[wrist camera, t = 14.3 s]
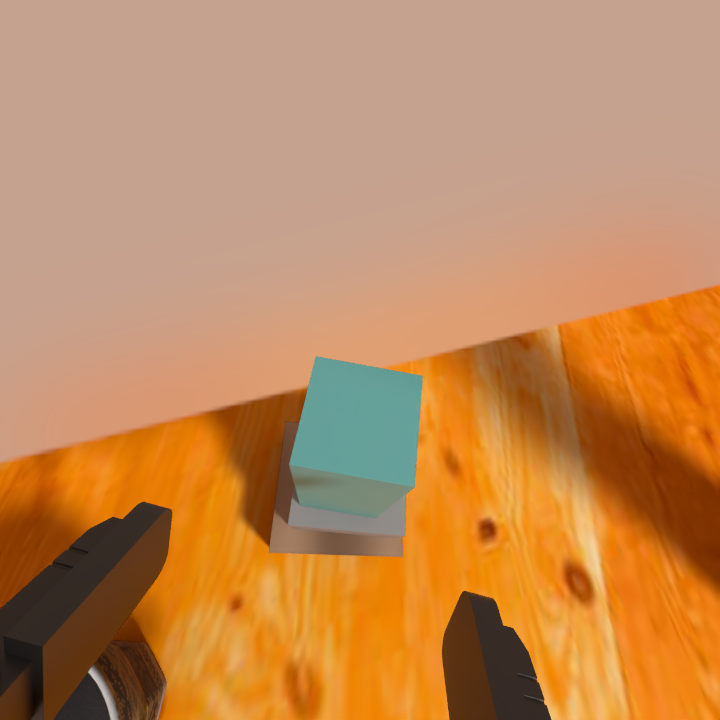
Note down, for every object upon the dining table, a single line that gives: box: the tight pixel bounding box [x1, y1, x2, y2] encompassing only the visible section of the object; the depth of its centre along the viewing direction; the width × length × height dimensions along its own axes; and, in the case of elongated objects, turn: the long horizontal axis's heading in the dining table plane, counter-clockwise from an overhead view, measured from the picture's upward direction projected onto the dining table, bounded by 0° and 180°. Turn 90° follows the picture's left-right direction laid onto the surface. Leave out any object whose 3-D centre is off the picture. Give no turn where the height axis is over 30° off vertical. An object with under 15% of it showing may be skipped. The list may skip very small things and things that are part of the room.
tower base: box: [269, 422, 403, 557], centre depth 28 cm, size 9×9×4 cm
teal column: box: [289, 357, 423, 519], centre depth 19 cm, size 5×5×10 cm
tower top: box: [288, 485, 406, 538], centre depth 25 cm, size 7×7×4 cm
